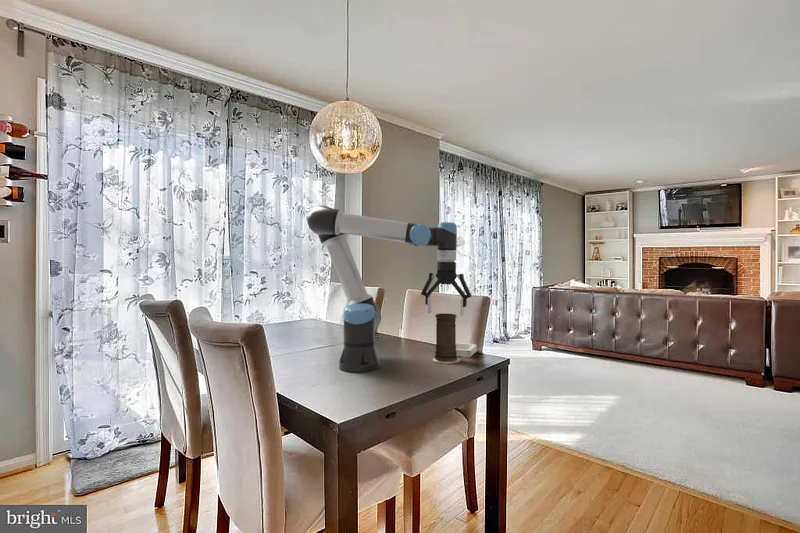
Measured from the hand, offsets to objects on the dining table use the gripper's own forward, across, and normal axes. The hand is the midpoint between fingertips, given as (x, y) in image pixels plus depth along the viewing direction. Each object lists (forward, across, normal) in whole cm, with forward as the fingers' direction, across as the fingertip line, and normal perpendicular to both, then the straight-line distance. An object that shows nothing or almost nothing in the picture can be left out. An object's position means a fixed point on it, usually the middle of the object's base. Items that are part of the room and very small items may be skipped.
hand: (445, 314), depth 169 cm
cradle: (+19, +3, +15) cm, 24 cm away
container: (+18, +1, 0) cm, 18 cm away
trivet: (+19, +1, 0) cm, 19 cm away
